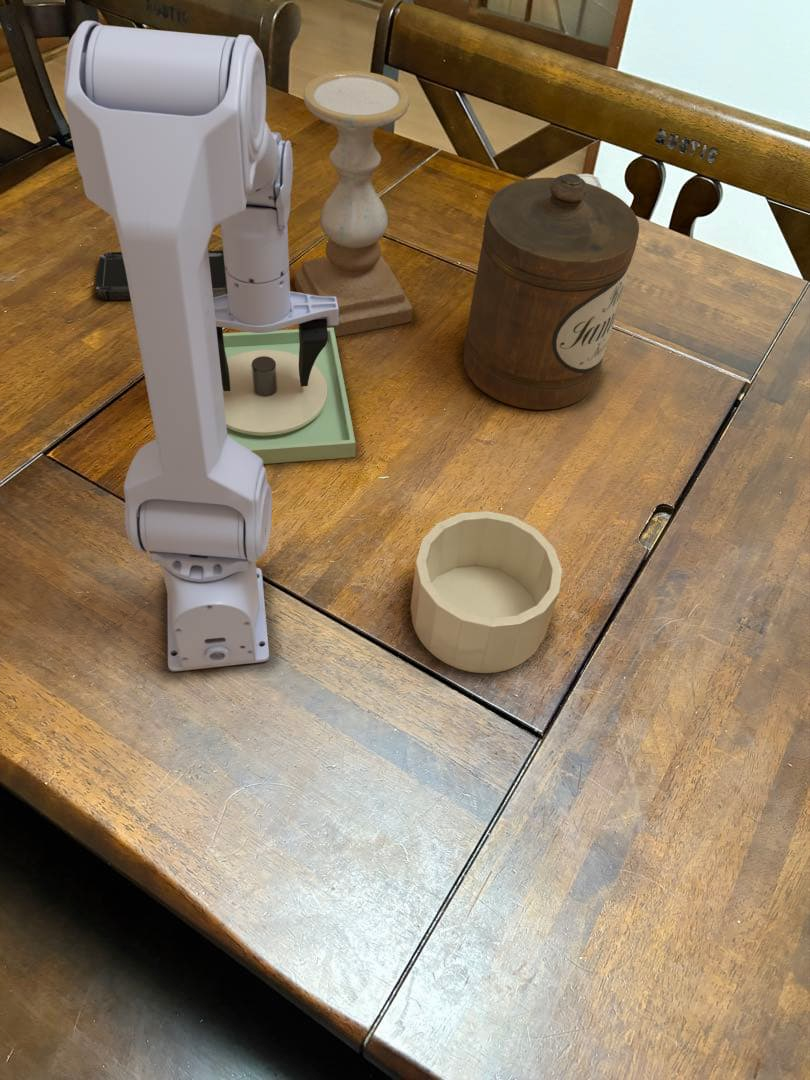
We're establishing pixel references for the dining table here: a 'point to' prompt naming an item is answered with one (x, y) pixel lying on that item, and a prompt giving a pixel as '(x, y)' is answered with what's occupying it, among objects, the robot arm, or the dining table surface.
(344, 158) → the candle holder
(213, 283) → the phone
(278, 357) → the lid
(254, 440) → the tray
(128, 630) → the dining table surface
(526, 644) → the tin
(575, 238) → the wooden container
